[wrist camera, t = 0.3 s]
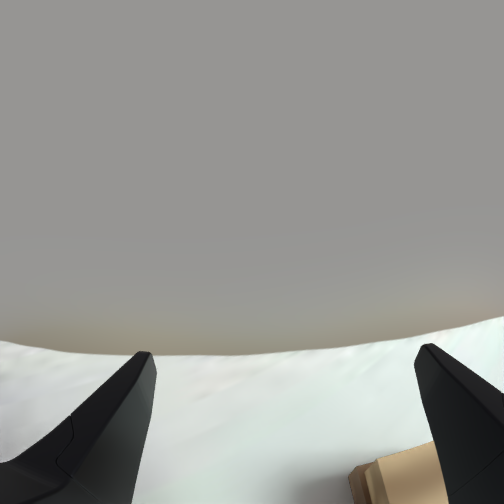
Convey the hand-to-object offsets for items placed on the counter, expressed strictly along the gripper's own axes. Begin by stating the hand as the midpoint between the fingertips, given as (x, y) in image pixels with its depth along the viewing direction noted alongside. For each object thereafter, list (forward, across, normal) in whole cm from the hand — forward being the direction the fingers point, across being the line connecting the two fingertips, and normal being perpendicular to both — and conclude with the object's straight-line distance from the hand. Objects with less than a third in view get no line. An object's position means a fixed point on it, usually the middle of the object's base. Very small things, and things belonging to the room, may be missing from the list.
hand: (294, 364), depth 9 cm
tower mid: (-2, -10, +14) cm, 17 cm away
